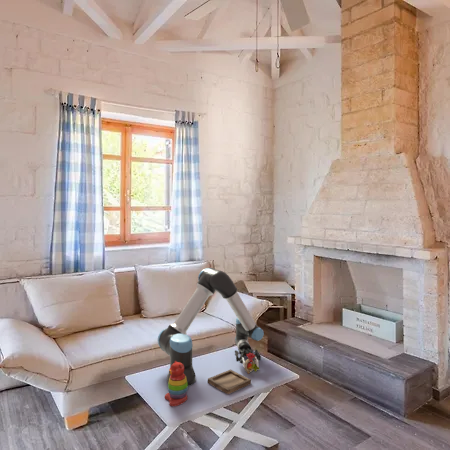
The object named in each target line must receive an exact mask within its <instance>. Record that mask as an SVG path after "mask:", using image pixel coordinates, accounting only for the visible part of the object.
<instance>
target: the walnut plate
mask: <svg viewBox="0 0 450 450" xmlns="http://www.w3.org/2000/svg"><path fill="white" fill-rule="evenodd" d="M207 384H209V385H211V386H213V387H214V388H216V389H218V390H219V391H220V392H223V393H225V394H226V395H230V394H232V393H235V392H236V391H239V390H241V389H244V388H245V387H248V386H250V385H252V380H251V379H250V378H248V377H247V376H244V375H243V374H240V373H239V372H236V371H234V370H233V369H228V370H225V371H223V372H220V373H218V374H216V375H214V376H211V377H208V378H207Z"/></svg>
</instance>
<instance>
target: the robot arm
mask: <svg viewBox="0 0 450 450" xmlns="http://www.w3.org/2000/svg"><path fill="white" fill-rule="evenodd" d="M197 278H198V280H197V283H196V288H195V290H194V292H193V293H192V295H191V296H190V298H189V300H187V303H186V304H185V305H184V307H183V309H182V310H181V311H180V313H179V314H178V316H177V318H176V319H175V321H174V322H173V323H169V325H168V326H167V328H165V329H162V330H161V331H160V332H159V334H158V336H157V345H158V346H159V348H160V349H161V351H163V352H165V354H167V355H168V356H169V363H170V364H169V365H170V367H171V365H172V364H173V363H174V362H175V361H177V362H180V363H182V364H183V365H184V374H185V376H186V378H187V383H188V387H189V386H192V385H193V384H195V383H196V380H197V377H196V371H195V369H194V366H193V345H194V344H193V340H192V338H191V336H190V335H188V334H187V331H188V330H189V329H190V327H191V325H192V323H193V322H194V320H195V319H196V317H197V316H198V314H199V313H200V311H201V310H202V308H203V306H204V304H205V303H206V301H207V300H208V299H209V297H210V296H213V295H214V294H215V292H216V293H219V295H220V296H221V297H222V299H225V300H226V302H227V303H228V305H229V306H230V308H231V310H232V311H233V313H234V314H235V316H236V319H235V338H234V340H235V342H234V343H235V345H236V347H237V350H234V356H235V361H236V362H237V363H238V362H239V363H240V364H241V365H242V366H243V368H244V367H245V361H246V360H245V357H247V354H249V353H251V354H252V353H253V354H254V355H255V357H254V358H252V359H253V361H254V362H255V364H256V365H257V367H259V363H260V361H262V355H261V354H260V353H259V352H258V349H255V350H253V349H252V346H251V344H250V343H249V338H250V339H251V340H253V341H254V340H255V341H257V342H258V341H261V340H262V339H263V337H264V335H265V334H264V329H262V328H261V327H260V326H258V325H257V323H256V322H255V319H254V318H253V316H252V315H251V312H250V311H249V310H248V308H247V306H246V305H245V302H244V301H243V299H242V298H241V296H240V294H239V293H238V288H237V286H236V284H235V283H234V281H233V279H232V278H231V277H230V276H229V275H228V274H227V272H225V271H222V270H219V269H216V268H212V267H206V268H204V269H202V270H201V271H200V272H199V274H198V277H197ZM239 355H240V356H239ZM170 367H169V368H170ZM170 375H171V374H170V373H169V372H168V374H167V377H166V383H167V384H168V382H169V378H170Z"/></svg>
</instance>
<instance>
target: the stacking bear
mask: <svg viewBox="0 0 450 450" xmlns="http://www.w3.org/2000/svg"><path fill="white" fill-rule="evenodd" d="M168 373H170V374H171V375H170V378H169V382H168V383H167V390H168V392H167V393H165V395H164V399H165V400H167V401H168V402H169V404H168V405H169V406H170V407H177V406H180V405H183V404H184V403H186V401H187V400H188V395H187V393H188V389H189V388H188V387H189V386H188V383H187V378H186V376H185V374H184V365H183V364H182V363H180V362H177V361H175V362H174V363H173V364H172V365H171V367H169V369H168Z"/></svg>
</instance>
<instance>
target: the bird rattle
mask: <svg viewBox="0 0 450 450" xmlns="http://www.w3.org/2000/svg"><path fill="white" fill-rule="evenodd" d="M246 357H247V359H245V360H244V361H245V367H243V368H244V371H245V372H246V373H247V374H250V373H251V372H257V371H259V370H260V367H259V366H258V367H257V365H256V363H255V360H254V359H253V358H254V357H255V355H254V354H253V353H252V354H251V353H249V354H247V356H246Z"/></svg>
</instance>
